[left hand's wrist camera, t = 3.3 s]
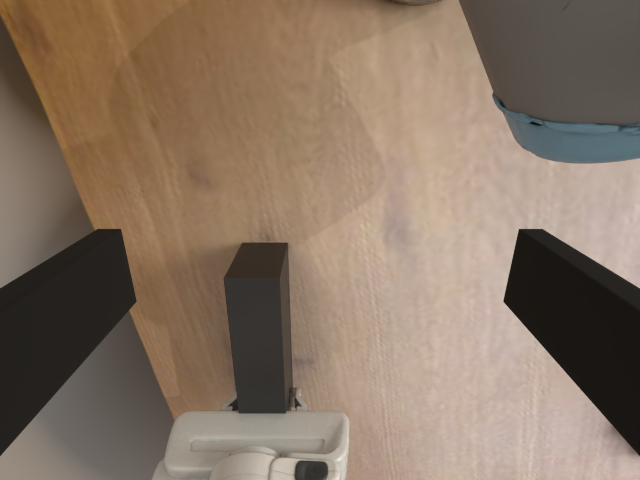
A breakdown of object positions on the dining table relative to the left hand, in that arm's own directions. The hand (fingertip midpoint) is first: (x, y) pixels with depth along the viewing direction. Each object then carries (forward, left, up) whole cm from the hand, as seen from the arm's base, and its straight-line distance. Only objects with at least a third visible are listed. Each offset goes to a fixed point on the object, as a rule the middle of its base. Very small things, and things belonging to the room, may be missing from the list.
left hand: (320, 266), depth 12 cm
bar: (+23, -7, -30) cm, 39 cm away
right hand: (+31, -7, -26) cm, 41 cm away
